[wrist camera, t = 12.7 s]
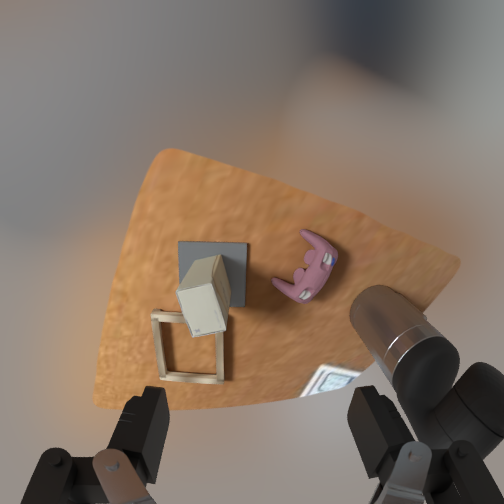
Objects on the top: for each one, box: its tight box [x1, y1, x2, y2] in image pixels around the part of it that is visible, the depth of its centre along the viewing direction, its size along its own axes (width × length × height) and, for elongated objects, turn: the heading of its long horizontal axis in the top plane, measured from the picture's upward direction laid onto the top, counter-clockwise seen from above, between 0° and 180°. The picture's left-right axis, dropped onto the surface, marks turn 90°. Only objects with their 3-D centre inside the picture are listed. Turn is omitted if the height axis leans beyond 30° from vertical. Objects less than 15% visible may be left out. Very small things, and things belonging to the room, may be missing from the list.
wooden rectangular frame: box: [151, 309, 224, 384], centre depth 47 cm, size 11×13×2 cm
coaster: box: [178, 241, 247, 307], centre depth 44 cm, size 10×10×1 cm
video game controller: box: [271, 229, 338, 304], centre depth 42 cm, size 10×5×7 cm, turn 151°
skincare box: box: [176, 255, 231, 337], centre depth 38 cm, size 6×4×12 cm
